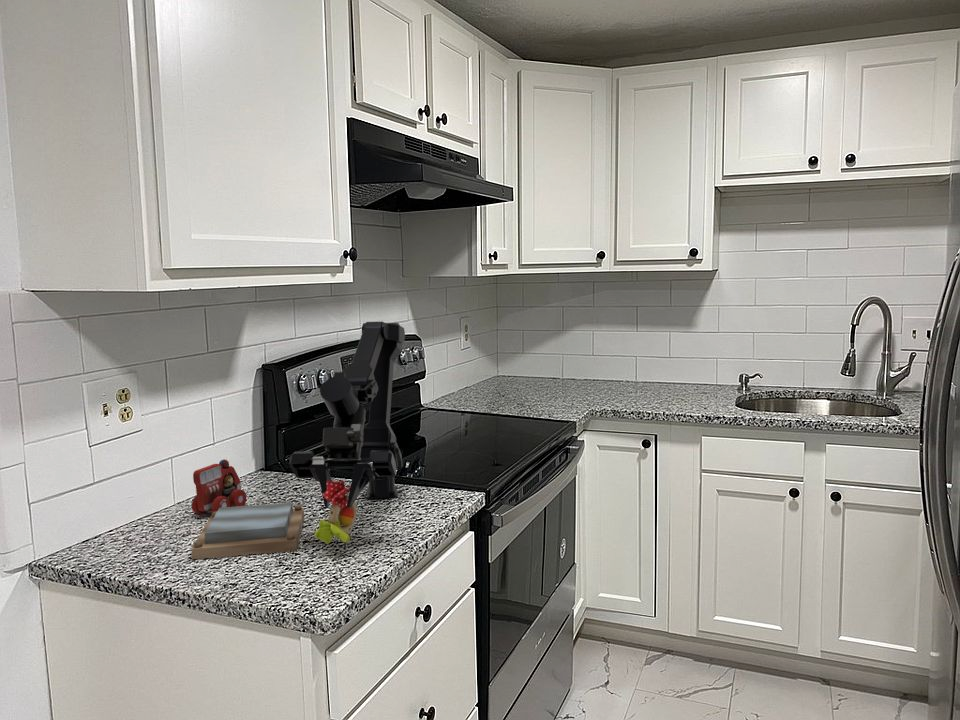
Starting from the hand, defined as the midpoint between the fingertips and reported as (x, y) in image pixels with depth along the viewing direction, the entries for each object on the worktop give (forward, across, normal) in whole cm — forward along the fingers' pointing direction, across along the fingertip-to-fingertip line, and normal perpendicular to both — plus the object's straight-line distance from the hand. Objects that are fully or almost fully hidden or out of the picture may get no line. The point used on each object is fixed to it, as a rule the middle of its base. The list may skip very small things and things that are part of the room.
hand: (337, 506), depth 131 cm
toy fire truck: (-10, -31, +23) cm, 40 cm away
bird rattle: (+4, 0, +6) cm, 7 cm away
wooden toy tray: (+1, -19, +11) cm, 22 cm away
